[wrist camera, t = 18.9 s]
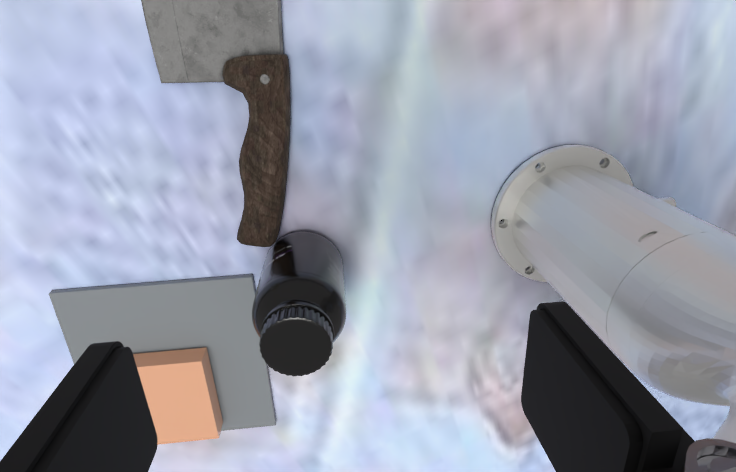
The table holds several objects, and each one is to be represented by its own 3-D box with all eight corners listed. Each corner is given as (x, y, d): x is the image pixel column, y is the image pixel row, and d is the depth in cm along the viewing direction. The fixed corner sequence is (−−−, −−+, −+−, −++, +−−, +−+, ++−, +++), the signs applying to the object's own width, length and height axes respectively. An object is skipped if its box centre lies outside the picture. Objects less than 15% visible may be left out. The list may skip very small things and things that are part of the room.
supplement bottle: (267, 224, 39) (246, 295, 28) (347, 233, 40) (357, 306, 29) (261, 294, 42) (240, 385, 31) (337, 301, 43) (342, 392, 32)
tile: (201, 361, 41) (218, 438, 44) (207, 345, 43) (223, 420, 46) (95, 370, 40) (121, 448, 44) (106, 354, 42) (130, 429, 46)
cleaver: (304, 237, 40) (303, 247, 38) (189, 244, 40) (182, 254, 38) (267, -195, 29) (263, -212, 27) (106, -196, 28) (90, -214, 26)
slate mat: (252, 274, 41) (251, 277, 40) (276, 420, 48) (275, 425, 47) (52, 290, 40) (48, 293, 39) (105, 438, 46) (102, 442, 46)
